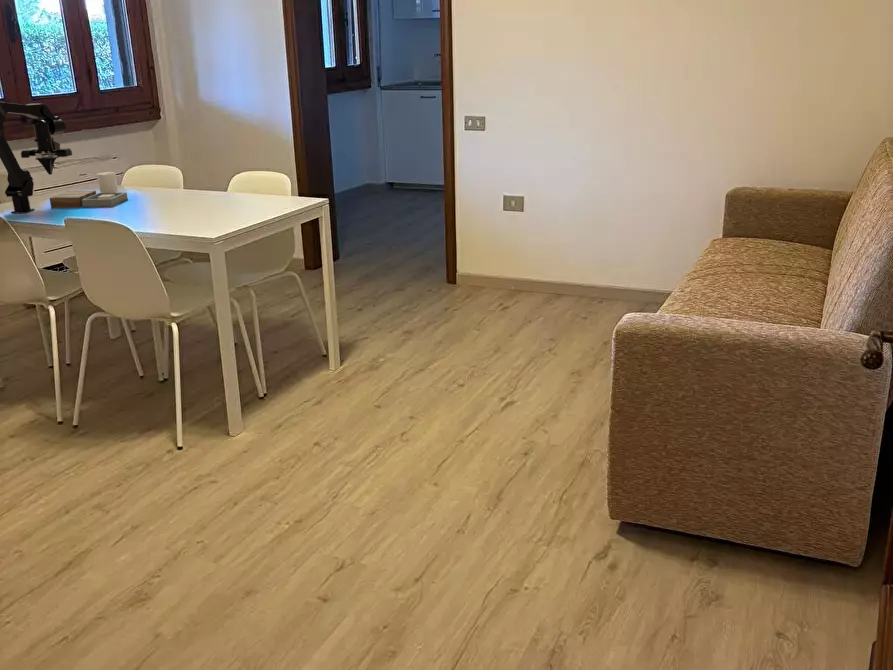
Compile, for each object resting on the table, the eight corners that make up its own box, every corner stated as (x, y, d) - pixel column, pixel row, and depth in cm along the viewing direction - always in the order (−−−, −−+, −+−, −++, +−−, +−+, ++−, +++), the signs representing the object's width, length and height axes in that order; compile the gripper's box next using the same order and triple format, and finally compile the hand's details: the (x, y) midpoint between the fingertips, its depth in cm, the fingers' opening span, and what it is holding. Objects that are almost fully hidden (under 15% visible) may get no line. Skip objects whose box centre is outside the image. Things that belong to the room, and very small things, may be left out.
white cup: (119, 197, 354) (115, 173, 351) (100, 199, 351) (96, 175, 348) (119, 194, 361) (115, 171, 358) (100, 196, 358) (96, 172, 355)
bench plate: (80, 207, 334) (78, 197, 332) (51, 207, 334) (49, 198, 333) (97, 200, 349) (95, 190, 347) (69, 200, 349) (67, 191, 348)
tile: (97, 196, 339) (98, 202, 340) (109, 196, 339) (110, 202, 339) (102, 194, 343) (103, 200, 344) (114, 194, 343) (115, 200, 344)
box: (112, 206, 333) (111, 199, 332) (82, 207, 334) (81, 199, 333) (127, 199, 348) (126, 192, 347) (99, 200, 349) (98, 192, 348)
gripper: (74, 133, 342) (81, 171, 347) (30, 134, 342) (37, 172, 348) (62, 135, 331) (69, 175, 336) (16, 137, 332) (24, 176, 337)
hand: (50, 174), depth 340 cm, fingers closed
